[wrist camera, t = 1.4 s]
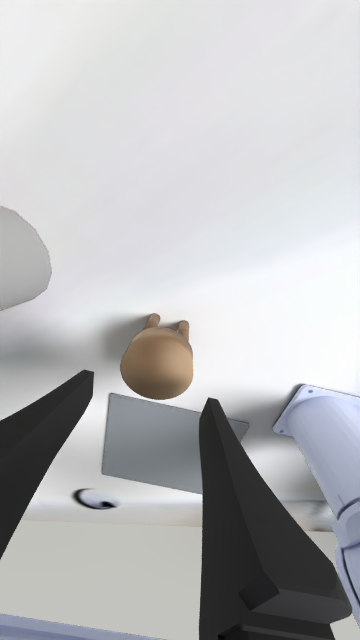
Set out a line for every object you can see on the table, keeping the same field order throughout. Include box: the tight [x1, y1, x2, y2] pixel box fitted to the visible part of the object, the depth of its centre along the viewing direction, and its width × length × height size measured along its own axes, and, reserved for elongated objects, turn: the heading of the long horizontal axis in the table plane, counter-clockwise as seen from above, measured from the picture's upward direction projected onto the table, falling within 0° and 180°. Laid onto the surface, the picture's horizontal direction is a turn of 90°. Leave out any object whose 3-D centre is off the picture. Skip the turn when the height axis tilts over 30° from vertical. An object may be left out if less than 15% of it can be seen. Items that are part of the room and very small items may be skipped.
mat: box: [102, 393, 249, 495], centre depth 26 cm, size 18×18×1 cm
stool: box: [120, 314, 193, 400], centre depth 16 cm, size 5×5×6 cm
